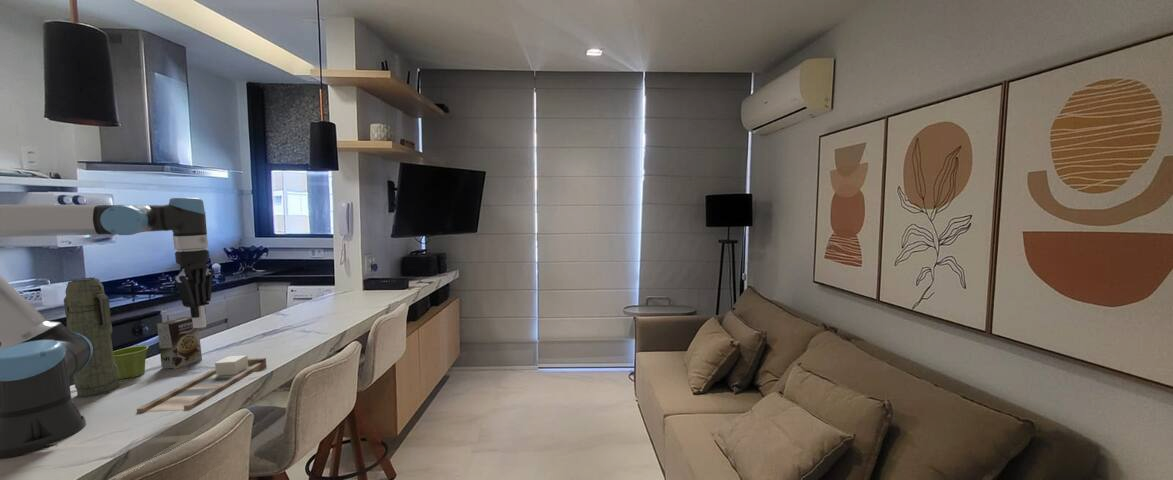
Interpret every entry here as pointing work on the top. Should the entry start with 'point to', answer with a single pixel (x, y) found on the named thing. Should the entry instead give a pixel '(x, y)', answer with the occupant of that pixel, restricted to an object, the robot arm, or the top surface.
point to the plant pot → (130, 361)
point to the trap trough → (199, 389)
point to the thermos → (92, 335)
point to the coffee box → (179, 343)
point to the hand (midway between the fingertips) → (199, 327)
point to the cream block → (231, 365)
